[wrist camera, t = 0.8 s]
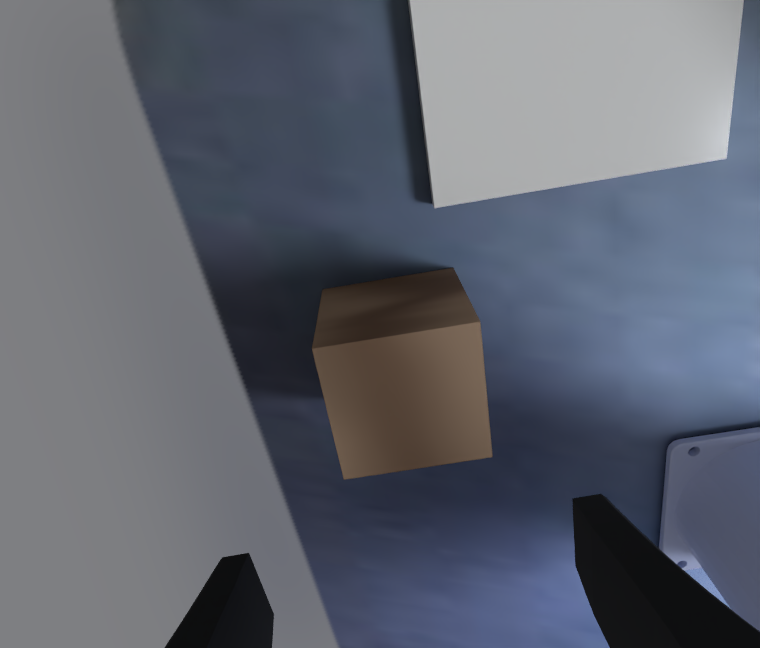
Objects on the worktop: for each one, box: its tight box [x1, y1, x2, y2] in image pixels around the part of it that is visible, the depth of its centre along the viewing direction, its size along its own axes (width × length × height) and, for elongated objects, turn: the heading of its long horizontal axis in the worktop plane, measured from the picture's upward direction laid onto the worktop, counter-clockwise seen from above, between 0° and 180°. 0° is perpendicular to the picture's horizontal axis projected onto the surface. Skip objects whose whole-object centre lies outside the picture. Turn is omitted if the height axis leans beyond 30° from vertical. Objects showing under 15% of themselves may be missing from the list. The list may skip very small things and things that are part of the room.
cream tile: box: [408, 0, 744, 208], centre depth 16 cm, size 10×10×1 cm
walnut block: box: [312, 268, 492, 480], centre depth 19 cm, size 5×5×5 cm
